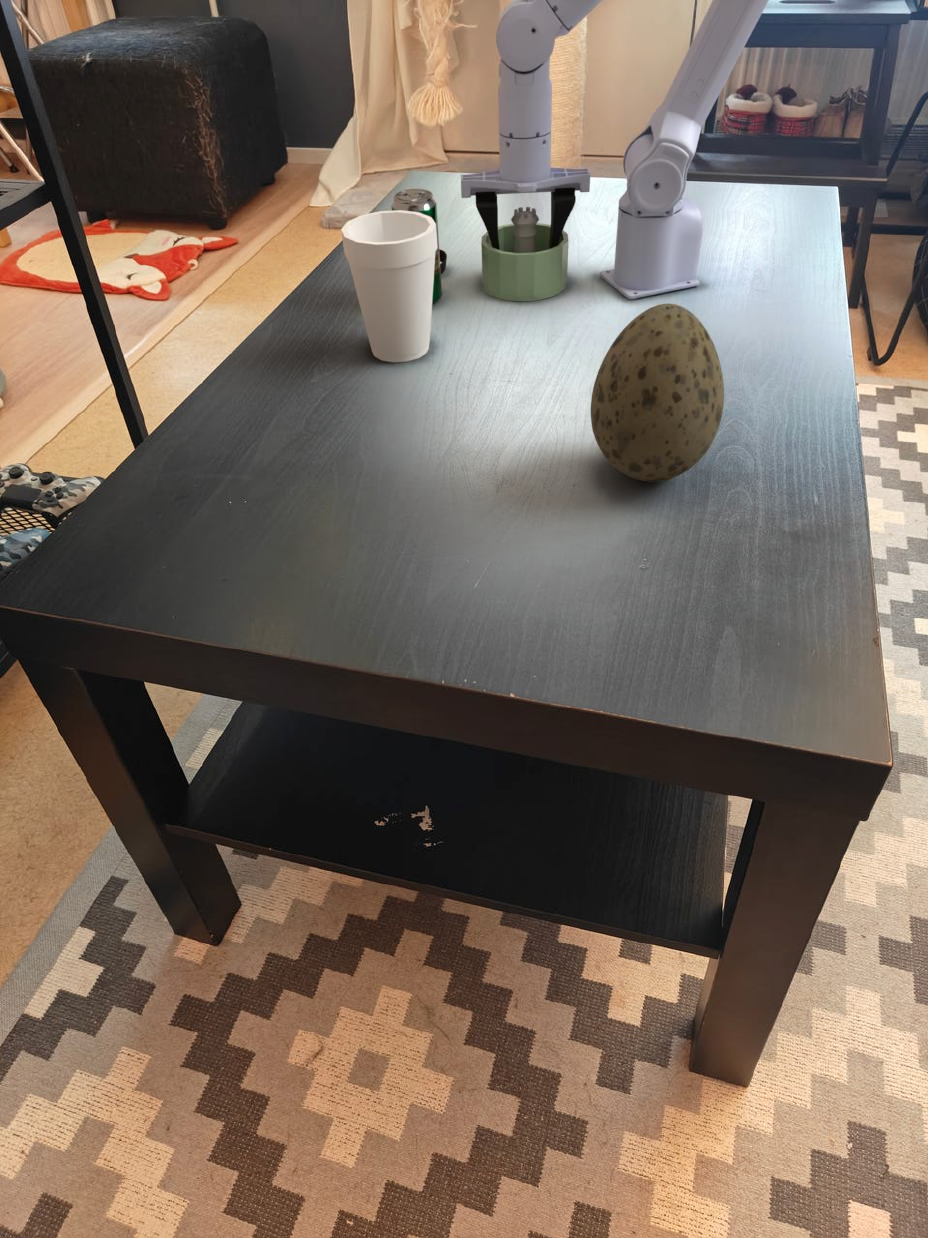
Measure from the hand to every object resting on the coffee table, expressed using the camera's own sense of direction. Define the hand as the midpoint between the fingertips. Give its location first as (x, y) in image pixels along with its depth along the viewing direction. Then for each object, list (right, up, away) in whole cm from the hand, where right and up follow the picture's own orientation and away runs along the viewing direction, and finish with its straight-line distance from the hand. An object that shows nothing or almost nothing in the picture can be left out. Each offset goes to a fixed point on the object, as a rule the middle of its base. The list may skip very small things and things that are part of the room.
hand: (524, 256), depth 107 cm
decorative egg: (+9, -31, -28) cm, 43 cm away
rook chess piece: (0, -2, +2) cm, 3 cm away
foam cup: (-14, -14, -9) cm, 22 cm away
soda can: (-12, -5, 0) cm, 14 cm away
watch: (-13, 0, +6) cm, 14 cm away
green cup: (0, -2, +2) cm, 3 cm away
